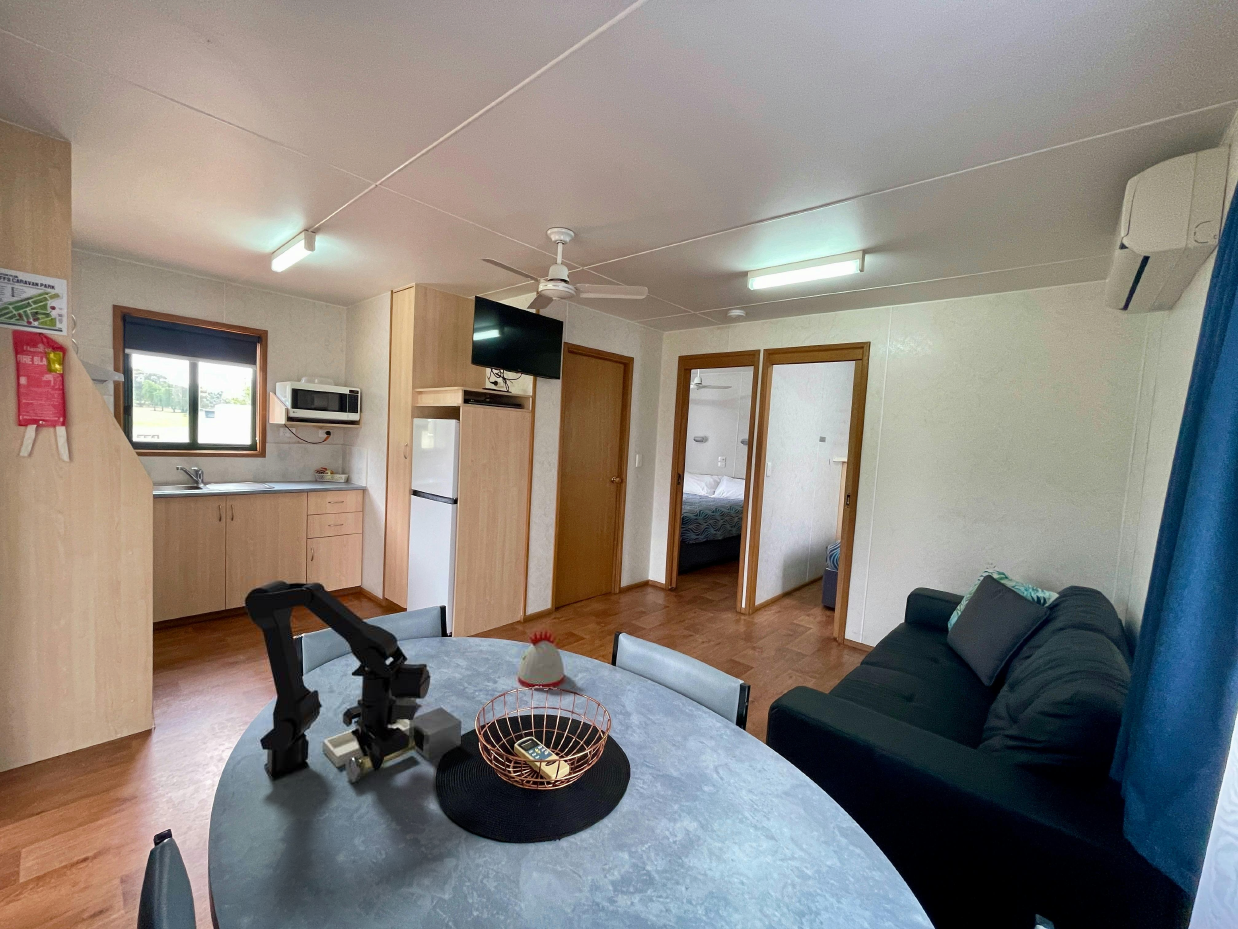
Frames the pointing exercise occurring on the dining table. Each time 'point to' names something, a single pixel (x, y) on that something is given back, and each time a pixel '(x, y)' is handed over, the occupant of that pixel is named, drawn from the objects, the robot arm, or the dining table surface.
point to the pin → (363, 765)
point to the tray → (351, 744)
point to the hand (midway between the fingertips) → (373, 767)
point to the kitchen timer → (541, 663)
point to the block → (435, 733)
